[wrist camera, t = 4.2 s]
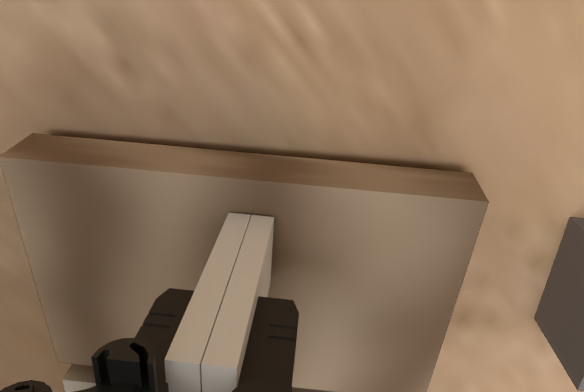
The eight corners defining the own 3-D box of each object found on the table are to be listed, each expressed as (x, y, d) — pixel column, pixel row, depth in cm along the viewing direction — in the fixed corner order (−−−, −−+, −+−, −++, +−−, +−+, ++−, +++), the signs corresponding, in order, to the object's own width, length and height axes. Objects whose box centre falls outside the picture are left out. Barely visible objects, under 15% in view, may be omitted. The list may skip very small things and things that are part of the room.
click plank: (79, 328, 22) (57, 362, 20) (32, 133, 17) (-2, 156, 15) (415, 363, 21) (423, 401, 20) (472, 172, 16) (488, 201, 15)
